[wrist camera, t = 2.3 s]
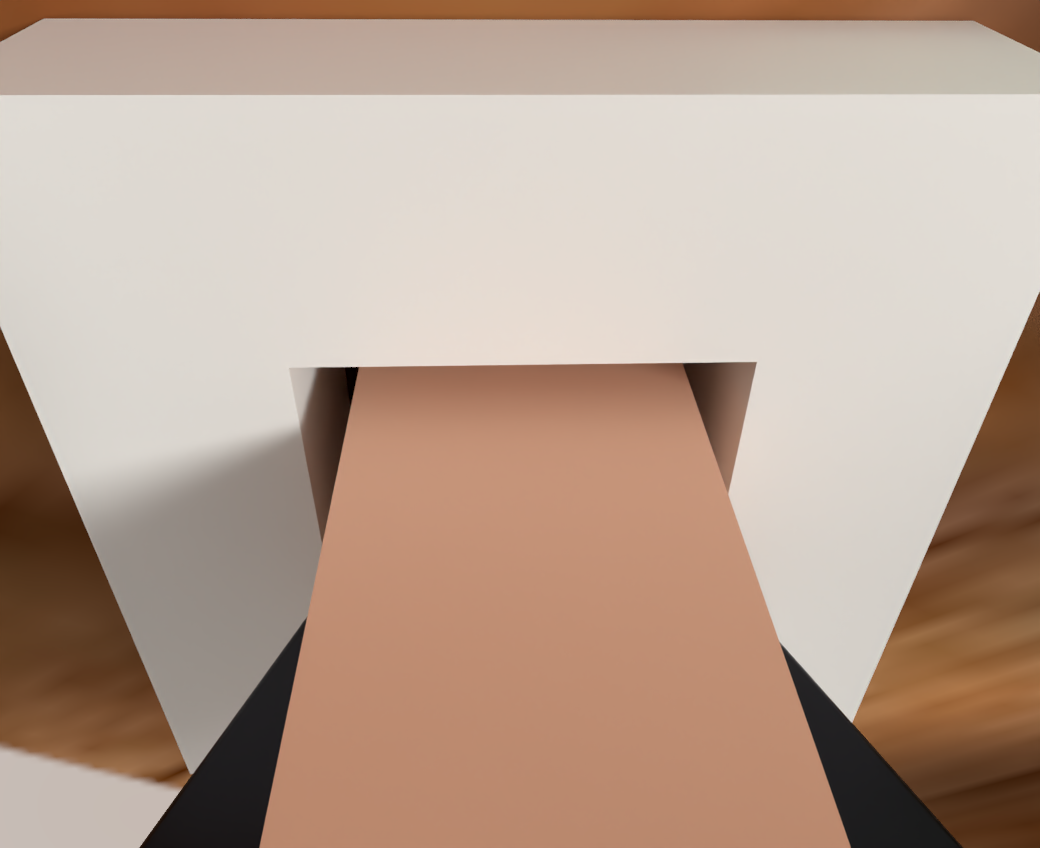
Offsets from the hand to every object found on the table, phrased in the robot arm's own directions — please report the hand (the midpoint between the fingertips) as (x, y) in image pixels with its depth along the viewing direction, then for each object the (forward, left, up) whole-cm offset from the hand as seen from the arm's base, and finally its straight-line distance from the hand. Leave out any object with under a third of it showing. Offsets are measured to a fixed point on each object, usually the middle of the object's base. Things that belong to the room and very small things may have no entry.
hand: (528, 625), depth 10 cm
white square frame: (0, 0, -4) cm, 4 cm away
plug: (0, 0, -4) cm, 4 cm away
